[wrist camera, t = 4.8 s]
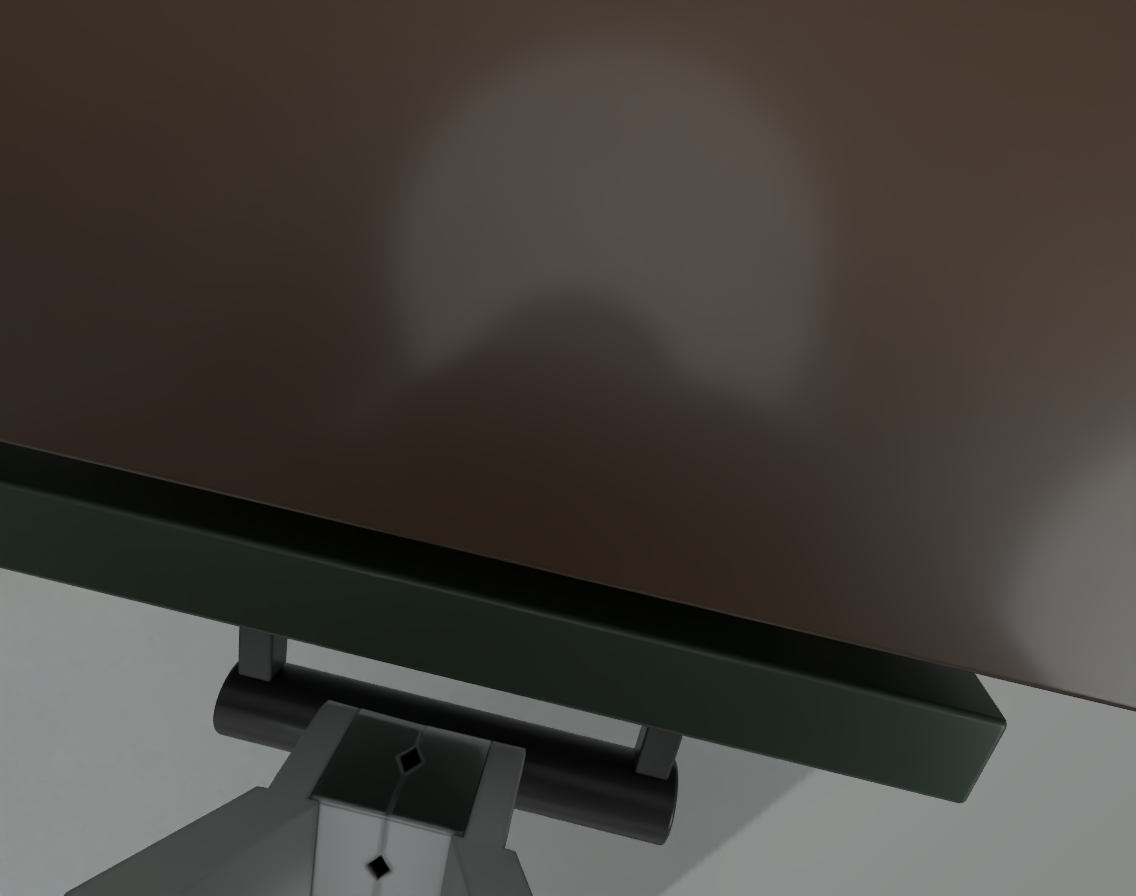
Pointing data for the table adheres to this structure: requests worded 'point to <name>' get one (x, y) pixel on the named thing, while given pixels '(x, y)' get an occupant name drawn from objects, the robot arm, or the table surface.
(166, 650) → the table surface
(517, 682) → the drawer
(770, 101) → the cabinet
